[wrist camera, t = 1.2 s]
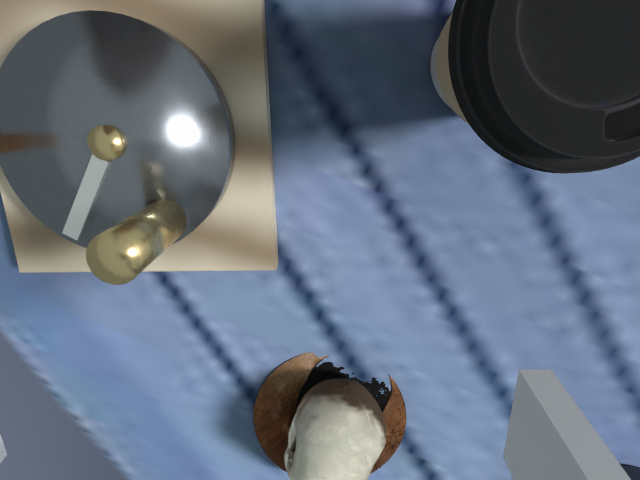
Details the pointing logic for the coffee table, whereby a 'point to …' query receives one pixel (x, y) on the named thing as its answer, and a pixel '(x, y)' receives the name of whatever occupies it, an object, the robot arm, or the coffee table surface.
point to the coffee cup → (545, 79)
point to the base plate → (249, 124)
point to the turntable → (114, 137)
